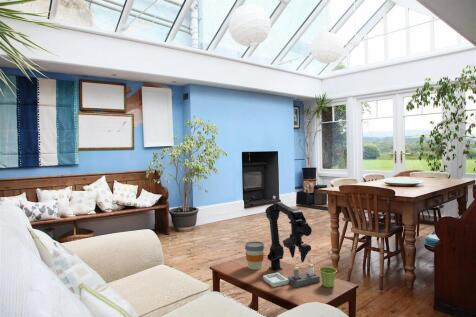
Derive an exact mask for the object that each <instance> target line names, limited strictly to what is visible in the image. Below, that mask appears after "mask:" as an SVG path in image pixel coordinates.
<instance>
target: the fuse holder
mask: <svg viewBox="0 0 476 317" xmlns="http://www.w3.org/2000/svg"><path fill="white" fill-rule="evenodd" d="M287 279H288V280H289V284H291V285H292V286H293V287H295V288H298V287H299V288H300V287H304V286H308V285H312V284H316V283H320V281H321V275H318V274H316V273H314V276H313V277H309V276H308V272H304V273H299V280H294V275H290V276H287Z"/></svg>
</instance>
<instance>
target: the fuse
mask: <svg viewBox="0 0 476 317" xmlns="http://www.w3.org/2000/svg"><path fill="white" fill-rule="evenodd" d="M314 267H315V266H314V264H313V263H308V264H307V270H308V272H307V273H308V276H309V277H313V276H314V274H315V273H314V271H315V268H314Z"/></svg>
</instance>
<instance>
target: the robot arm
mask: <svg viewBox="0 0 476 317" xmlns="http://www.w3.org/2000/svg"><path fill="white" fill-rule="evenodd" d="M280 213H283V214H284V215H286V216H287V218H288V219H289V220H290V221H289V222H288V224H290V228H291V229H290V232H291V233H290V234H289V236H288V237H287V238H285V239H284V240H282V243H283V245H282V244H281V242H280V233H279V225H278V219H279V217H280ZM265 216H266V218H267V220H269V229H270V238H271V244H270V246H269V253H268V254H267V260H268V261H270V266H268V268H269V269H270V271H273V272H276V271H281V270H283V268H282V267H281V260H283V259H284V254H285V252H284V250H285V249H284V247H285V248H287V249H288V250H289V253H290V256H291V258H292V259H294V257H295V253H296V248H298V253H300V260H301V263H304V262H305V260H306V257H307V255H308V254H309V252H310V251H312V246H311V245H310V244H307V243H304V241H303V237H304V236H306V237H309V236H310V235H312V232H313V228H312V227H311V226H310V224H309V223H308V222H307V220H306V218H305V216H304V213H303V211H302V210H300V209H298V208H292V207H290V206H288V205H286V204H284V202H282V201H276V202H273V204H271V205H269V206H268V207H266V209H265Z"/></svg>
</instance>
